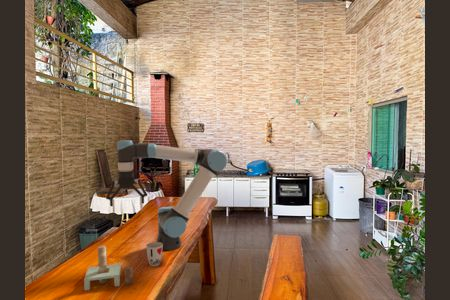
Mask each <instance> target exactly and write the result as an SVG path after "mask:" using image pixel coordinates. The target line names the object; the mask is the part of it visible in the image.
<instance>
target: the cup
mask: <svg viewBox="0 0 450 300" xmlns="http://www.w3.org/2000/svg"><path fill="white" fill-rule="evenodd" d="M162 248H163V244H162V243H161V242H156V241H154V242H153V241H151V242H148V243H147V244H146V256H147V261H148V263H149V266H151V267H158V266H159V265H160V264H161V261H162V256H163V250H162Z"/></svg>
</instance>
